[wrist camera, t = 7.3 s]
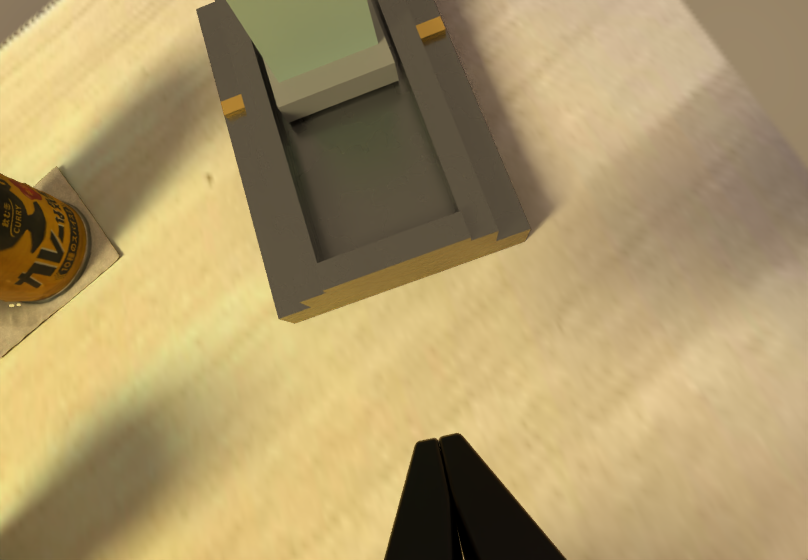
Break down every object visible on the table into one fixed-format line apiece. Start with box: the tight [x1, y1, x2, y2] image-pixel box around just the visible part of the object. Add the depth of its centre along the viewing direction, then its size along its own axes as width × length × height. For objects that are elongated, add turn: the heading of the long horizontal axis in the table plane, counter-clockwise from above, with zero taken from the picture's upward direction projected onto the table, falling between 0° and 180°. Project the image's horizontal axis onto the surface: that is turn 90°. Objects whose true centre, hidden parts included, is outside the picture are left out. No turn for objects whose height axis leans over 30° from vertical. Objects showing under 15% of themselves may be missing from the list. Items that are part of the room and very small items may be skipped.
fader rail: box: [196, 0, 531, 323], centre depth 22 cm, size 18×12×4 cm, turn 19°
